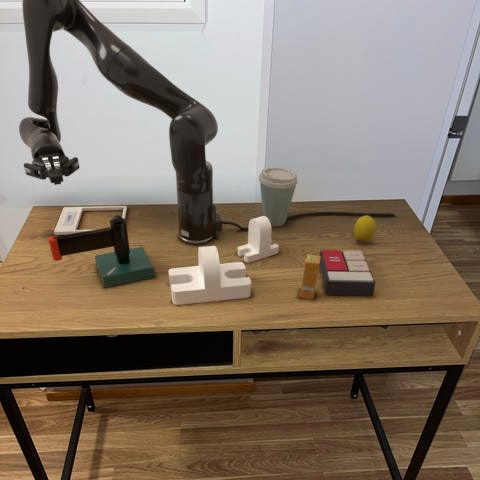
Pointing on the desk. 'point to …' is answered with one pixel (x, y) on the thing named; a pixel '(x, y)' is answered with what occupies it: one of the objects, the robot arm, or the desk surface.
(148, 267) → the stand
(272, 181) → the disposable coffee cup
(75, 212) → the photo frame
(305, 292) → the supplement box
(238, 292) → the white slotted bracket
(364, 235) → the lemon
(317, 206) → the desk surface
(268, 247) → the cable organizer
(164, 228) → the desk surface
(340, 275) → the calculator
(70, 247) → the black l-shaped bar
